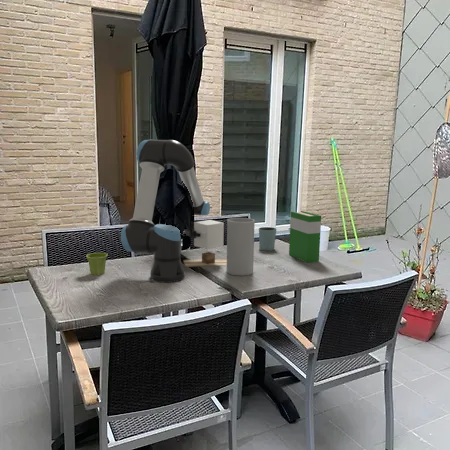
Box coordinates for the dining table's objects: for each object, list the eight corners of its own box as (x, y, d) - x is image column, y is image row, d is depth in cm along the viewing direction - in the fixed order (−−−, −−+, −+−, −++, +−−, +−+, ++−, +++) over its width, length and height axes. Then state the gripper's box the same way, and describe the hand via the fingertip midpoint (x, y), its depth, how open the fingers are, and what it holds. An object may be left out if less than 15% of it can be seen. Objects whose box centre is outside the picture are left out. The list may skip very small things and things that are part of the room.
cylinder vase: (221, 272, 212) (221, 219, 207) (238, 267, 221) (239, 216, 216) (241, 278, 203) (242, 223, 199) (258, 272, 212) (260, 220, 208)
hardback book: (289, 254, 248) (290, 211, 244) (300, 253, 251) (302, 210, 247) (306, 262, 233) (309, 216, 228) (318, 261, 235) (321, 215, 231)
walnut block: (214, 262, 227) (214, 253, 226) (207, 264, 224) (207, 255, 223) (208, 260, 230) (209, 252, 229) (201, 262, 227) (201, 253, 226)
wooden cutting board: (234, 266, 223) (234, 264, 223) (186, 267, 218) (186, 266, 218) (229, 259, 236) (229, 258, 236) (183, 261, 231) (183, 260, 231)
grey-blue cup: (257, 250, 258) (257, 229, 256) (258, 246, 268) (259, 226, 265) (275, 251, 256) (275, 230, 254) (276, 247, 266) (276, 227, 264)
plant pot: (102, 277, 202) (101, 258, 200) (83, 275, 203) (82, 256, 202) (111, 271, 211) (111, 253, 209) (93, 270, 212) (92, 252, 211)
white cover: (223, 246, 226) (223, 222, 223) (207, 249, 219) (207, 225, 217) (210, 242, 233) (210, 219, 231) (194, 245, 226) (194, 222, 224)
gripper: (204, 232, 246) (231, 239, 230) (169, 237, 231) (195, 245, 215) (204, 218, 245) (231, 224, 229) (169, 223, 230) (195, 230, 214)
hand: (214, 234), depth 222 cm, fingers closed on white cover, 10 cm apart
